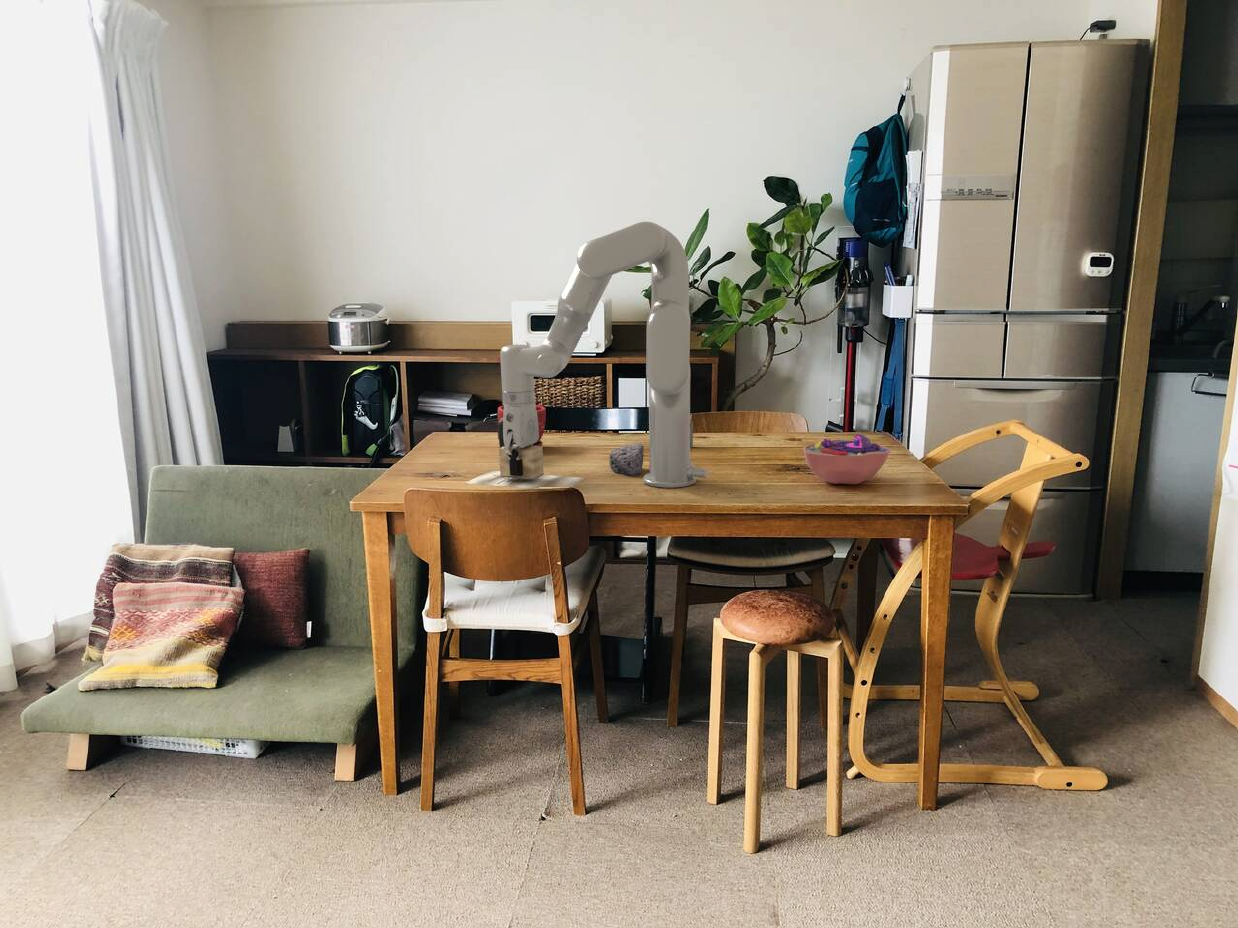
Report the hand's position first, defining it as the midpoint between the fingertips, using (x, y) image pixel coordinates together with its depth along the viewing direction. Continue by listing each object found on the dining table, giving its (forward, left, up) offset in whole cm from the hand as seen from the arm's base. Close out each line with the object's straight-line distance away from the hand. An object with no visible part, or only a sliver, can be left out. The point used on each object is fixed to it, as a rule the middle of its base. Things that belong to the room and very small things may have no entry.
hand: (522, 472), depth 226 cm
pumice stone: (-21, -16, -3) cm, 26 cm away
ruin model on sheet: (-22, -47, -3) cm, 52 cm away
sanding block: (0, 0, -1) cm, 1 cm away
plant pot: (+16, -32, -2) cm, 36 cm away
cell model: (-73, -22, -3) cm, 76 cm away
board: (-1, 0, -2) cm, 2 cm away
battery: (+12, -18, -2) cm, 22 cm away
